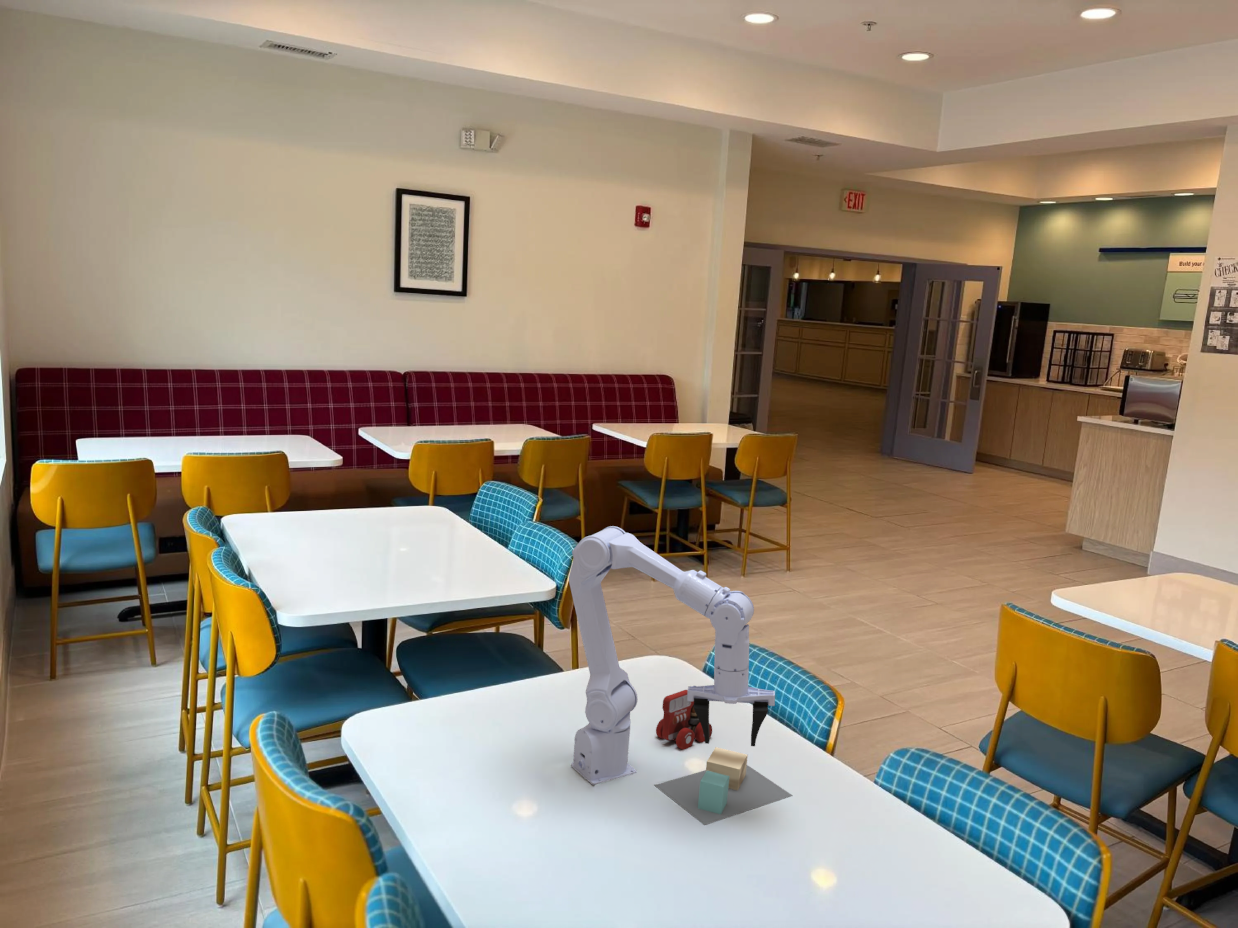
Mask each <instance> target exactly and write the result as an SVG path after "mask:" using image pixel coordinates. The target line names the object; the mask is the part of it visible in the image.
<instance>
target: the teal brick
mask: <svg viewBox="0 0 1238 928" xmlns="http://www.w3.org/2000/svg"><path fill="white" fill-rule="evenodd" d="M728 786H729V776H727V775H723V774H719V773H715V772H711V771H706V773H705V774H704V776H703V778H702V779H701V781H700V791H699V801H698V809H702V810H706V811H710V812H713V813H717V814H721V813H722V811H723V809H724V807H725V806H726V804H727V796H728Z"/></svg>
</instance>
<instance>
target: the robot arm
mask: <svg viewBox="0 0 1238 928" xmlns="http://www.w3.org/2000/svg"><path fill="white" fill-rule="evenodd" d="M571 554H572V558H573V559H572V563H571V567H570V571H569V575H568V582H569V587H570V591H571V596H572V600H573V605H574V608H575V614H576V619H577V622H578V627H579V631H580V636H581V637H580V638H581V640H582V644H583V645H582V646H583V648H584V653H585V658H586V661H587V666H588V672H589V679H588V682H587V685H586V689H585V696H586V704H585V711H584V713H585V716H586V720H587V722H588V724H586V725H585V726H584V727H582V728H580V729H577V731H576V732H575V736H574V743H573V744H574V745H573V746H574V748H573V761H572V762H571V763H570V767H571V768H573V770H575V771H576V772H577V773H578V774H579V775H581V776H582V777H583V778H584V779H585V780H587V782H589V783H590V784H591V785H592V786H596V785H598V784H603V783H606V782H608V781H609V782H610V781H613V780H616V779H620V778H623V777H627V776H630V775H634V774H637V773H638V771H637V769H635V768H634V767H633V766H632V765H631V764H629V763H628V761H629V748H630V747H629V745H630V734H631V723H632V722H631V712H632V711H633V710H635V708H636V706H637V703H638V693H637V691H636V689H635V687H634V686H633V684H632V683H631V681H630V678H629V675H628V673H627V671H625V670H624V669H623V668H621V667H620V663H619V659H618V655H617V651H616V646H615V641H614V636H613V633H612V628H611V627H612V626H611V624H610V619H609V616H608V615H609V614H608V611H607V606H606V601H605V598H604V597H605V596H604V591H603V588H602V581H603V580H604V578H605V577H606V576H607V574H608V573H609V572H610V570H618V569H626V568H634V569H636V570H638V571H639V572H641V573H643V574H645V575H647V576H649V577H650V578H653V579H654V580H656V581H658V582H660V583H662V584H664V585H666V586H667V587H669V588H671V589H672V590H673V593H674V595H675V596H674V597H675V599H676V600H678V601H679V602H680V603H682V604H684V605H686V606H687V607H689V608H691V609H693V610H694V611H695V612H697V613H699V614H701V616H703V617H705V618H707V619H709V621H710V624H711V626H712V627H713V629H714V630H715V632H714V664H713V665H714V666H713V667H714V669H713V670H714V672H713V673H714V674H713V676H714V677H713V679H714V680H713V684H710V685H709V684H707V685H698V686H697V685H693V686H691V685H690V686H687V690H688V693H687V701H694V710H695V713H696V714H697V716H698V719H699V721H700V723H701V726H702V729H703V733H704V738H705V742H704V743H705V744H708V745H709V744H710V740H711V737H710V728H709V724H710V702H722V703H723V702H724V704H729V705H731V704H732V705H734V704H737V703H742V704H752V722H751V734H750V747H756V744H757V743H756V741H757V737H758V734H759V731H760V728H761V726H762V724H763V722H764V720H765V718H766V717H767V715H768V713H769V706H770V707H775V706H776V705H775V704H776V703H775V701H776V700H775V699H776V691H775V690H770V689H769V690H768V689H763V688H756V687H751V686H749V675H750V673H749V672H750V670H749V667H750V624H748V623H749V622H750V621H751V620H752V618H753V616H754V614H755V613H754V611H755V607H754V604H753V602H752V600H751V599H750V597H749V596H748V595H747V594H745V592H744V591H742V590H731V588H729V587H727V586H724V587H723V586H722V585H720V584H718V583H717V582H715V581H713V580H712V579H710V578H708V577H707V573H706V572H705V571H703V570H699V571H696V570H695V569H691V570H686V571H683V570H682V569H680V568H679V567H677V566H676V565H674V564H673V563H671V562H670V561H668V560H667V559H665V557H662V556H661V555H659V554H658V553H657V552H656V551H653V550H652V549H651V548H649V547H648V546H646V545H644V544H643V543H642V542H640V540H639V539H637V537H636V536H635V535H634V534H632V533H629V532H626V531H625V530H624V529H623V528H621V527H618V526H614V525H612V526H611V525H610V526H607V527H605V528H603V529H602V530H600V531H598V532H596V533H593V534H591V535H588V536H585V537H583V538H582V539H581V540H580V541H579V542H578V543H577V545H576V546H574V549H572V551H571Z"/></svg>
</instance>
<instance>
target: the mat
mask: <svg viewBox="0 0 1238 928" xmlns="http://www.w3.org/2000/svg"><path fill="white" fill-rule="evenodd" d="M705 773H706V769H705V770H701V771H698V772H695V773H694V772H693V773H692V774H688V775H684V776H681V777H678V778H675V779H670V780H668V781H667V780H666V781H663V782H661V783H658V784H654V785H653V786H654V787H656V788H657V789H658V790H660V792H662V793H663V794H664V795H666V796H667V797H668V798H670V800H672V801H673V802H675V803H676V804H677V805H678V806H679V807H681V808H682V809H683V810H685V811H686V812H687V813H688V814H689V815H691V816H692V817H693V818H694V819H696V820H697V821H698V822H699V823H701V824H702V825H703V826H707V825H710V824H712V823H715V822H718V821H722V820H724V819H727V818H730V817H731V818H732V817H733V816H736V815H740V814H742V813H743V814H744V813H746V812H749V811H751V810H755V809H758V808H760V807H763V806H766V805H769V804H772V803H775V802H779V801H781V800H784V799H787V798H790V797H793V794H791V793H790V792H788V791H787V790H785V789H784V788H782V787H781V786H780V785H778V784H776V783H775V782H774V781H772V780H771V779H769V778H768V777H766V776H764V775H763V774H761V773H760V772H759V771H757V770H755V769H754V768H752V767H751V766H750V765H748V764H747V767H746V775H745V777H744V779H743V781H742V783H741V785H740V787H739V789H738V790H734V789H730V788H728V796H727V804H726V806H725V807H724V809H723V811H722V813H721V814H717V813H713V812H710V811H706V810H702V809H698V801H699V791H700V781H701V779H702V778H703V776H704V774H705Z"/></svg>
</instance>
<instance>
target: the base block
mask: <svg viewBox="0 0 1238 928" xmlns="http://www.w3.org/2000/svg"><path fill="white" fill-rule="evenodd" d="M748 755H749V754H747V753H742V752H738V751H734V750H730V749H726V748H721V747H716V746H715V748H714V749H713V750H712V752H711V753H710V755H709V757H708V759H707V760H706V765H705V767H706V769H705V770H706V771H711V772H715V773H719V774H723V775H727V776H729V786H728V788H730V789H734V790H738V789H739V787H740V785H741V783H742V781H743V779H744V777H745V775H746V767H747V765H748V757H749V756H748Z"/></svg>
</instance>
